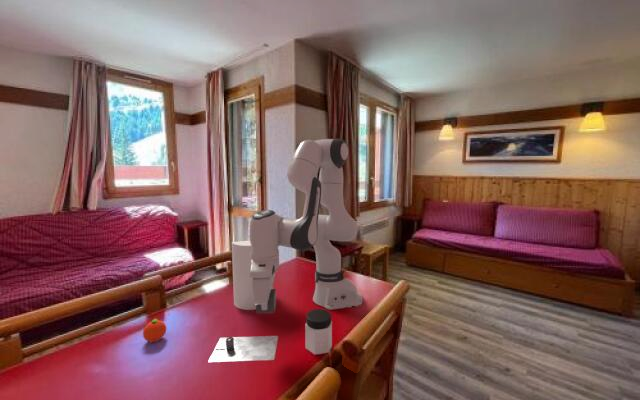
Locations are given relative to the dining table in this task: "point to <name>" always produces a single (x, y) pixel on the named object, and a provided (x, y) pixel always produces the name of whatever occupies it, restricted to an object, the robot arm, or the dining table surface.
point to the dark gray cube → (270, 303)
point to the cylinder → (242, 275)
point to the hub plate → (244, 349)
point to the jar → (318, 331)
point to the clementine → (154, 330)
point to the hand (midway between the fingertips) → (266, 303)
